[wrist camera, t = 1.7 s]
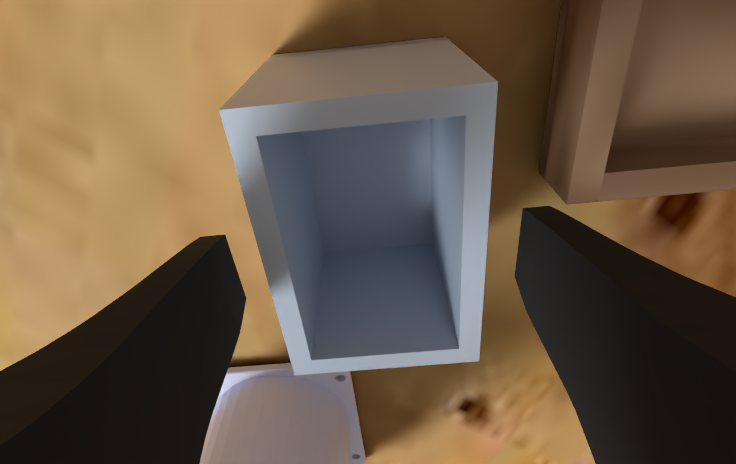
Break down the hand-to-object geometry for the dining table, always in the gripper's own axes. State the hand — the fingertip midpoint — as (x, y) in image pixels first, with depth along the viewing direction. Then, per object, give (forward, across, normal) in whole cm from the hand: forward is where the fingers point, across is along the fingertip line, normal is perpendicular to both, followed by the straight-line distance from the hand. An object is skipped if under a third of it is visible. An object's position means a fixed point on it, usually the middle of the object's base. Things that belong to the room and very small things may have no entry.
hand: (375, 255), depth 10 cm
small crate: (+6, 0, 0) cm, 6 cm away
